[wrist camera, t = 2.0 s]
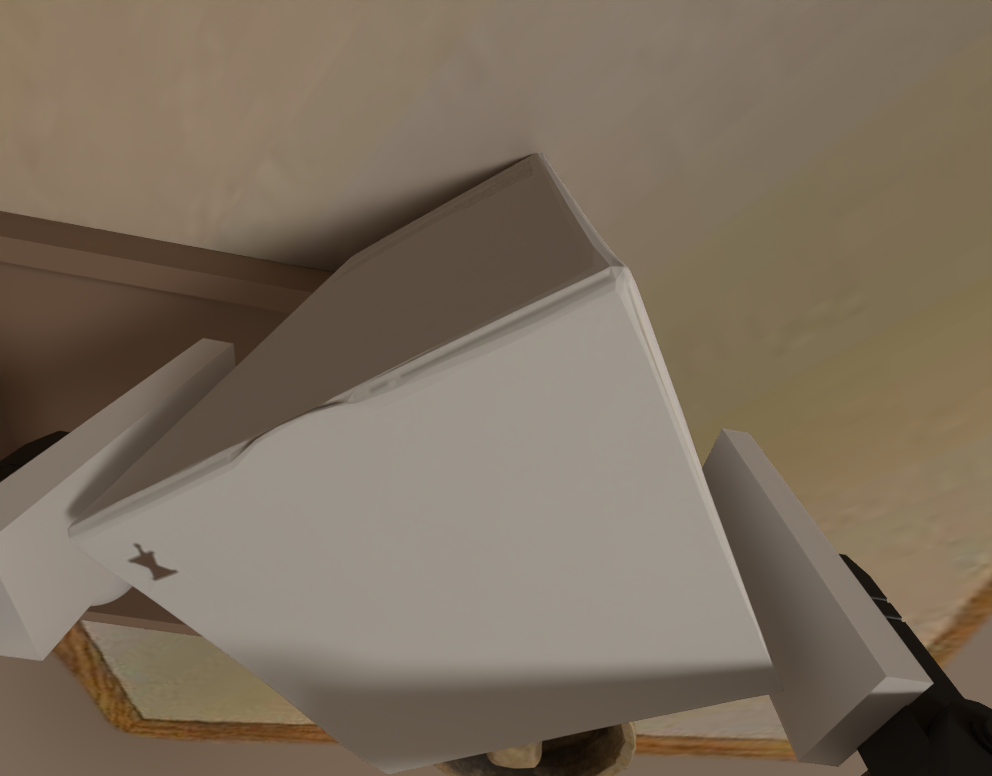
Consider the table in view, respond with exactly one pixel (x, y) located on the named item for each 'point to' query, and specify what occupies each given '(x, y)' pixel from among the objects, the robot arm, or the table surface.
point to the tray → (119, 332)
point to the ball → (112, 591)
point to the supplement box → (450, 498)
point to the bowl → (555, 756)
